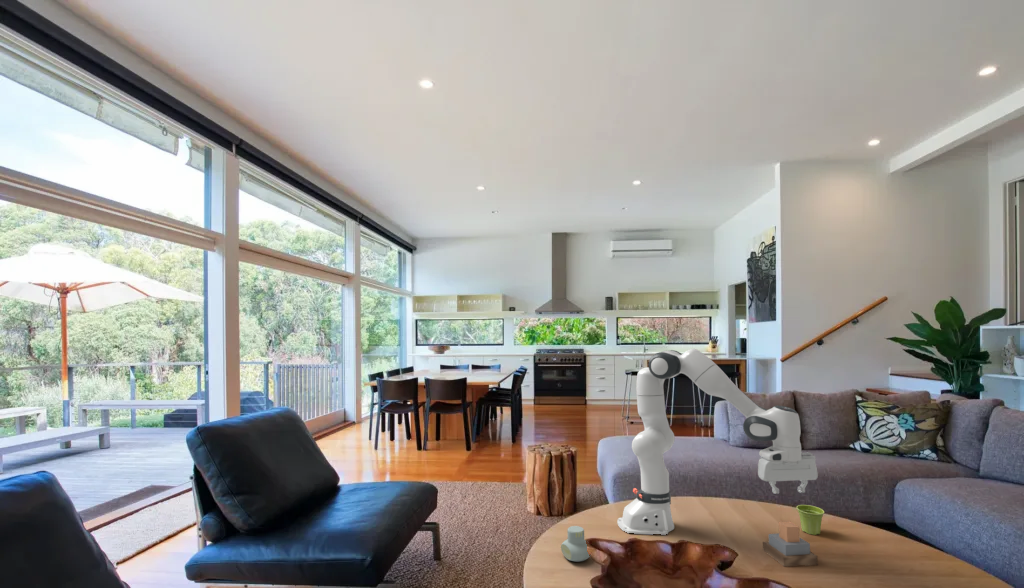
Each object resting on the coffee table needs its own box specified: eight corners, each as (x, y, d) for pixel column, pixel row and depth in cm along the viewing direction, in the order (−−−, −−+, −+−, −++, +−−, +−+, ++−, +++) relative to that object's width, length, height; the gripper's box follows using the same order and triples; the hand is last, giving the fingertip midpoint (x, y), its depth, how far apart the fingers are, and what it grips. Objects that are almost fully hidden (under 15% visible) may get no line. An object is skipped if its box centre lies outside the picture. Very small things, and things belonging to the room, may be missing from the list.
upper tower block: (785, 555, 167) (785, 545, 167) (768, 544, 176) (768, 534, 176) (810, 554, 168) (809, 543, 168) (792, 542, 177) (791, 532, 177)
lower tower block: (783, 568, 165) (783, 557, 165) (763, 551, 177) (762, 541, 177) (817, 566, 166) (817, 556, 166) (794, 550, 178) (794, 540, 178)
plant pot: (823, 529, 194) (822, 506, 195) (827, 538, 186) (826, 515, 186) (796, 525, 198) (795, 503, 199) (798, 534, 190) (797, 511, 190)
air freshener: (558, 553, 176) (557, 525, 177) (578, 549, 179) (577, 521, 180) (574, 567, 166) (573, 537, 167) (594, 562, 169) (594, 532, 170)
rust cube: (787, 542, 169) (786, 527, 169) (779, 536, 174) (778, 522, 174) (799, 541, 170) (799, 526, 170) (791, 536, 174) (790, 521, 174)
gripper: (808, 449, 178) (810, 488, 177) (754, 451, 176) (756, 490, 175) (821, 454, 171) (822, 494, 171) (765, 456, 170) (766, 496, 169)
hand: (788, 492), depth 173 cm, fingers open, 8 cm apart
